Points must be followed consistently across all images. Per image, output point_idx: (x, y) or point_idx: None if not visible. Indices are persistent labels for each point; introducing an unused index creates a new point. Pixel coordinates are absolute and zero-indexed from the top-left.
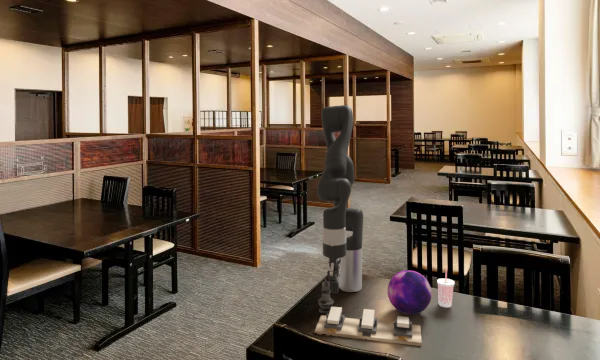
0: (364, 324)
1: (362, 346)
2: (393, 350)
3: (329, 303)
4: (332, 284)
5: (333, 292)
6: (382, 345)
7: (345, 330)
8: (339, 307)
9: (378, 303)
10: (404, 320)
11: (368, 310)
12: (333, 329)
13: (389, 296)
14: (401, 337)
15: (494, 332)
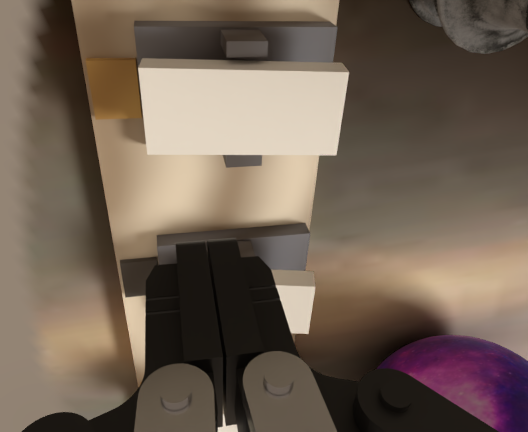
0: None
1: (42, 262)
2: (70, 366)
3: (453, 22)
4: (147, 368)
5: (176, 267)
6: (94, 328)
7: (150, 169)
8: (335, 137)
9: (509, 251)
10: (235, 428)
11: (300, 308)
12: (125, 98)
13: (438, 382)
14: None
15: None
